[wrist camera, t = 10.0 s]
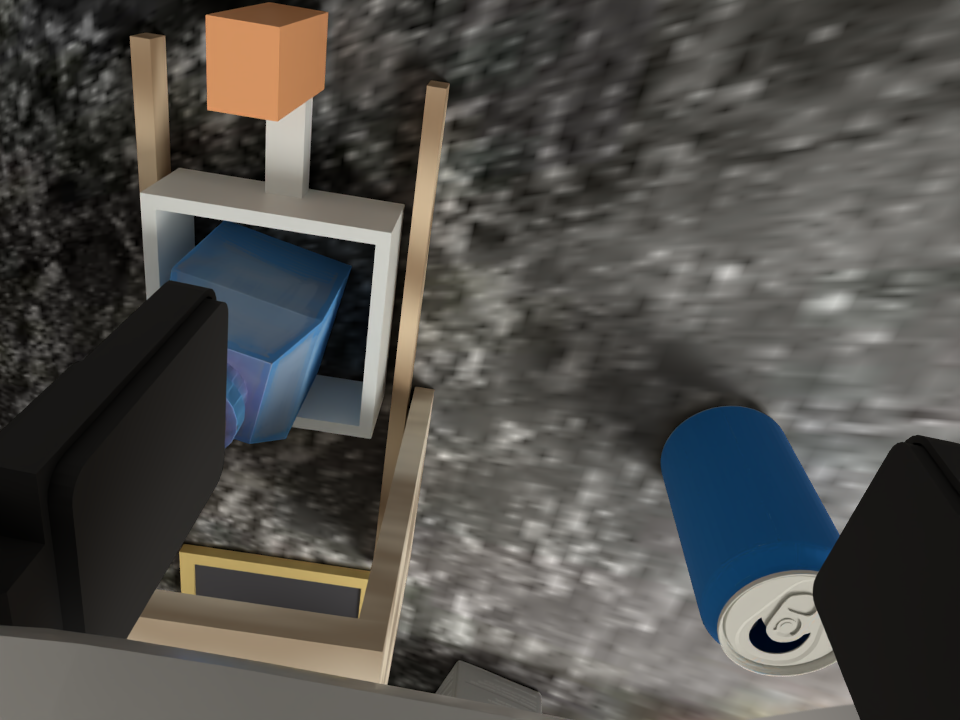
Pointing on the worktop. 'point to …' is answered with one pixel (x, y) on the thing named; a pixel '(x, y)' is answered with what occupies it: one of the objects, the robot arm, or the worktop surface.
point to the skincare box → (488, 688)
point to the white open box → (280, 187)
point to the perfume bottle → (267, 322)
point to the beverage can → (750, 538)
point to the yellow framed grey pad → (272, 581)
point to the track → (157, 165)
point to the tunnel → (302, 633)
